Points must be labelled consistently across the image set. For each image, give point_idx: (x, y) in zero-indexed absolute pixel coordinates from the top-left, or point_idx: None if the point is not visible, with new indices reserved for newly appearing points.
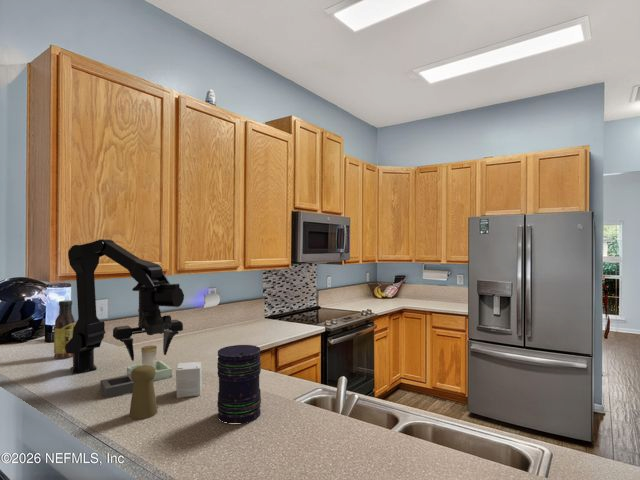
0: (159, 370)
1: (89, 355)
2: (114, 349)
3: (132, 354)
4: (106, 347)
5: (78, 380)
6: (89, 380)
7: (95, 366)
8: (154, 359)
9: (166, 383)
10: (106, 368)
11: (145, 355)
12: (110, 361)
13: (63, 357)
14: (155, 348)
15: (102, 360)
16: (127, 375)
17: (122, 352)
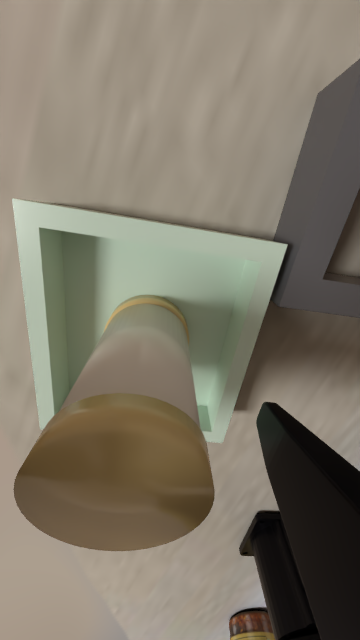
0: (113, 234)
1: (305, 593)
2: (130, 614)
3: (312, 444)
4: (140, 630)
5: (352, 459)
6: (334, 438)
7: (252, 531)
8: (107, 347)
9: (121, 89)
10: (227, 507)
11: (186, 394)
12: (184, 550)
13: (261, 614)
14: (50, 434)
15: (197, 565)
16: (311, 299)
17: (122, 591)
